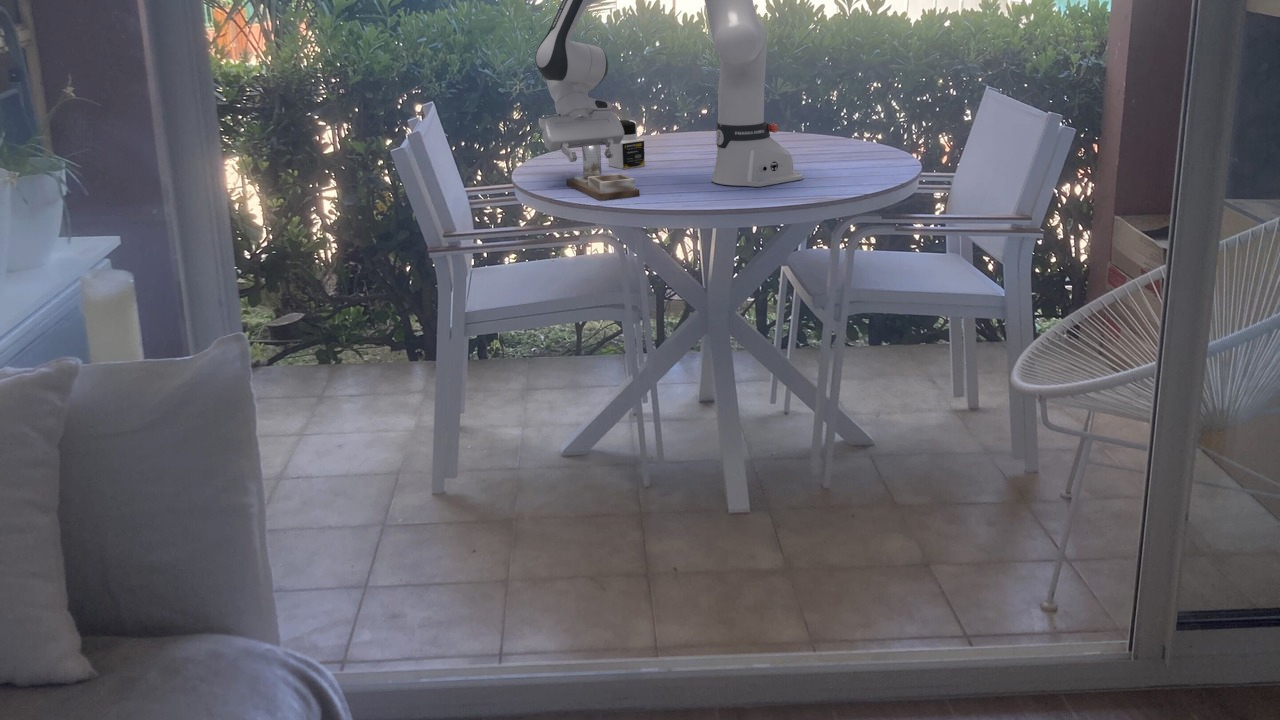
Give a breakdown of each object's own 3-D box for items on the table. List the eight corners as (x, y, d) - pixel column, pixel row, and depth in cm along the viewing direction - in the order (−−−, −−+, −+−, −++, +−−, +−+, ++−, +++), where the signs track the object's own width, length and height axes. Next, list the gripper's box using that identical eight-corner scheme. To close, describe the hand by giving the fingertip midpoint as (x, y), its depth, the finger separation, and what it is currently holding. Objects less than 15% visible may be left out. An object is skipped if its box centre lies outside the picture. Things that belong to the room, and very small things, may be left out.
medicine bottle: (623, 169, 299) (621, 123, 295) (607, 166, 304) (606, 120, 300) (645, 166, 303) (644, 120, 298) (629, 162, 308) (628, 118, 304)
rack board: (604, 180, 285) (603, 164, 283) (639, 196, 266) (639, 179, 264) (566, 184, 281) (565, 168, 280) (599, 200, 262) (599, 183, 261)
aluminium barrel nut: (597, 175, 280) (596, 143, 278) (604, 178, 277) (603, 145, 274) (580, 177, 279) (579, 144, 276) (587, 180, 275) (586, 147, 272)
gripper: (538, 108, 275) (554, 154, 269) (616, 101, 282) (633, 146, 277) (533, 124, 280) (548, 170, 275) (610, 117, 288) (626, 162, 282)
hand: (591, 158), depth 276 cm, fingers open, 8 cm apart
